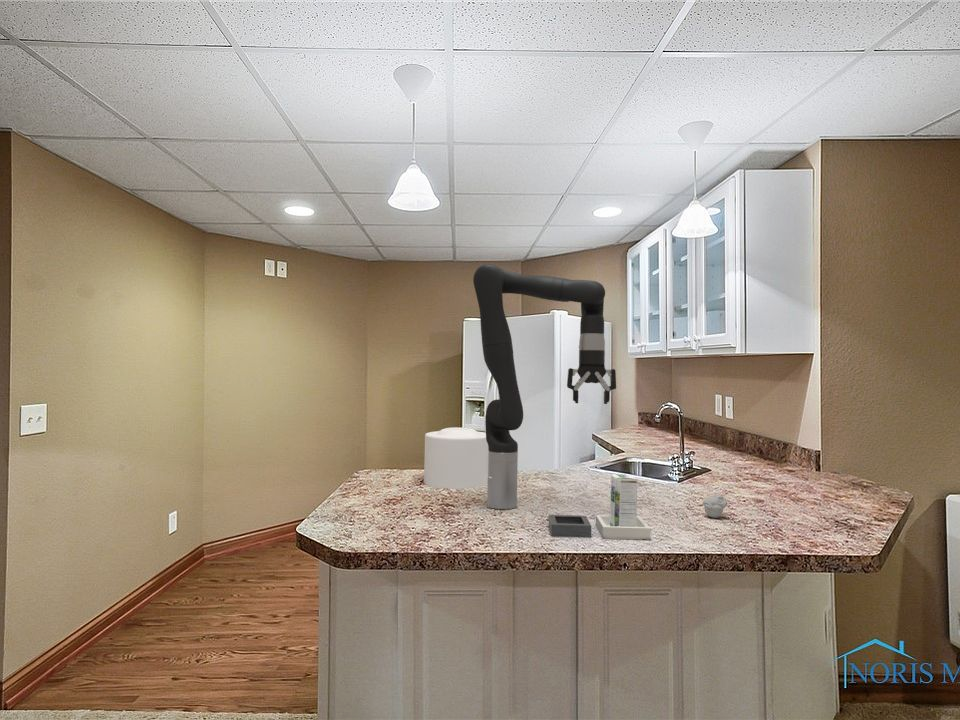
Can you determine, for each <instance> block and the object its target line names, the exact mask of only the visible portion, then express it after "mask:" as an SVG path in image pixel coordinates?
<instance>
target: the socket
mask: <svg viewBox="0 0 960 720" xmlns="http://www.w3.org/2000/svg"><path fill="white" fill-rule="evenodd" d="M548 529H549V532H550V535H551V537H558V538H559V537H561V538H562V537H565V538H569V537H570V538H592V525H591V523H590V521H589V519H588V517H587V515H577V514H575V515H573V514H572V515H571V514H570V515H569V514H548Z"/></svg>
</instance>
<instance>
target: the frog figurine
mask: <svg viewBox="0 0 960 720" xmlns="http://www.w3.org/2000/svg"><path fill="white" fill-rule="evenodd" d="M728 501H729V500H728V499H727V498H726V497H724V496H723V495H722V494H719V493H715V494H713V495H711V496H709V497H707V498H705V499H704V500H703V501H702V504H703V505H704V511H705V514H706V515H707V516H708V517H710V518H711V519H712V518H713V519H717V518H719V517H722V515H723V512H724V509H725V508H726V507H727V505H728Z"/></svg>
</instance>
